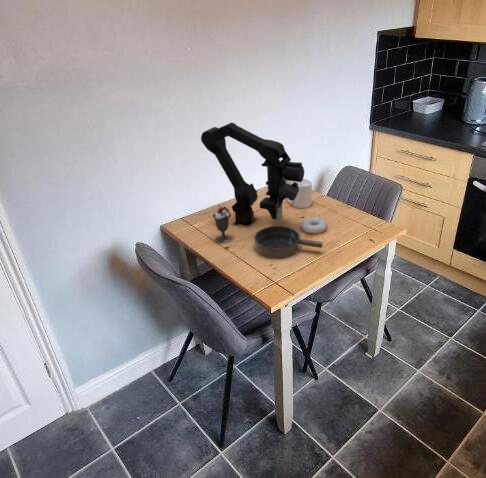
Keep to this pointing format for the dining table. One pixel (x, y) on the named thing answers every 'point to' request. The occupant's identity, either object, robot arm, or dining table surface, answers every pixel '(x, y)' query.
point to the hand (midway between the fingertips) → (276, 216)
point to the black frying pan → (277, 242)
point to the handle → (311, 243)
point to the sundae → (222, 222)
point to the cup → (302, 194)
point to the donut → (313, 225)
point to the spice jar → (278, 214)
